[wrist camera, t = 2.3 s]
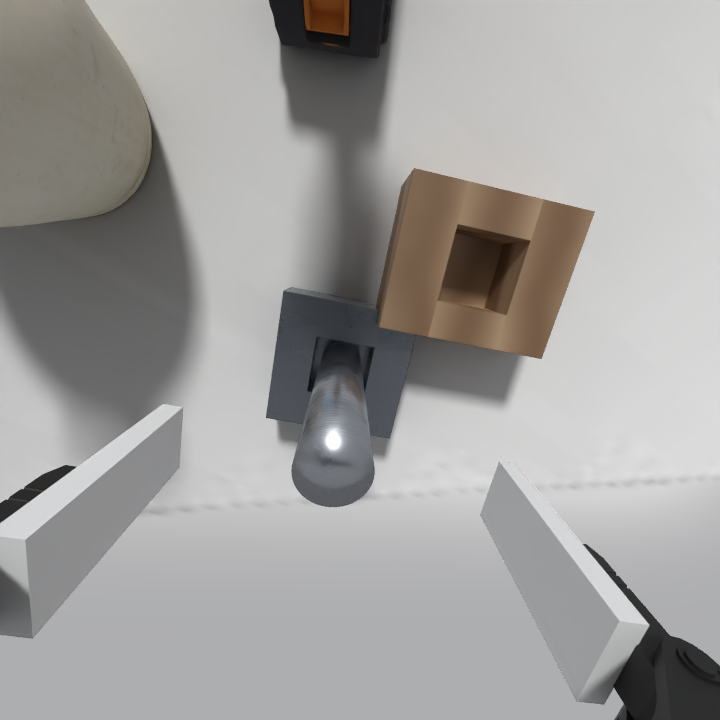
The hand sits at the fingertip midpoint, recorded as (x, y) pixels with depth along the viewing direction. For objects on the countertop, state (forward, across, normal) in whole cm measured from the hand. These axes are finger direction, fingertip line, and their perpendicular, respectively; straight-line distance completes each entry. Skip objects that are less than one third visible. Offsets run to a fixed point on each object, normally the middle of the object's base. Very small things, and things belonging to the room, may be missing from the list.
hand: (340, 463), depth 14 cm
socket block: (+16, 0, 0) cm, 16 cm away
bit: (+15, 0, 0) cm, 15 cm away
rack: (+16, +8, +9) cm, 20 cm away
